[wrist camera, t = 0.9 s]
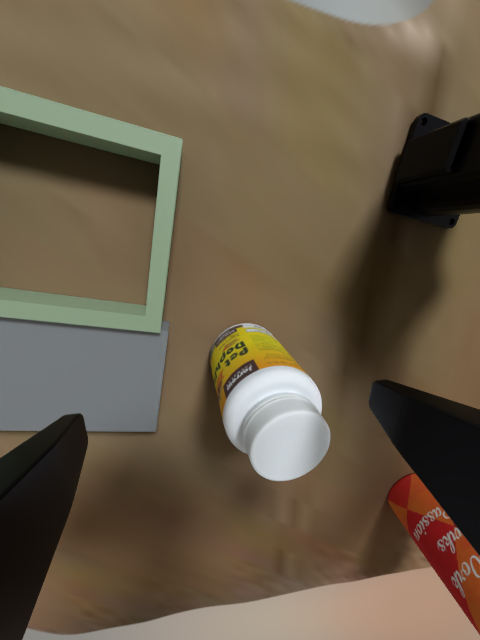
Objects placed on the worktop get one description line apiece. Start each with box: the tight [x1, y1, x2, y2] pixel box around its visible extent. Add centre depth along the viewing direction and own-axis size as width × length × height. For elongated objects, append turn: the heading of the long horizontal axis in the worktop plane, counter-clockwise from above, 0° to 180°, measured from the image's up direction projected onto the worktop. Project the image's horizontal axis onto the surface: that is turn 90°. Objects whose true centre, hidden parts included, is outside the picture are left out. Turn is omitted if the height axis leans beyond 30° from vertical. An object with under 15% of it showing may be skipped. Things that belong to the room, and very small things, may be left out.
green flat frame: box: [0, 86, 183, 432], centre depth 16 cm, size 12×19×2 cm, turn 169°
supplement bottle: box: [210, 323, 330, 481], centre depth 17 cm, size 6×6×10 cm
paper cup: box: [388, 473, 480, 634], centre depth 26 cm, size 8×8×14 cm
